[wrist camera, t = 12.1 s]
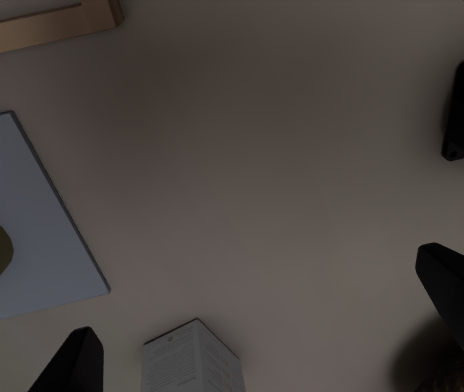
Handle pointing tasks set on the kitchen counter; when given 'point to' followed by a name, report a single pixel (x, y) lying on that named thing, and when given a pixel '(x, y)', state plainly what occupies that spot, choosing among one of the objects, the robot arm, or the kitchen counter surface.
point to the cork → (5, 250)
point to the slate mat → (39, 234)
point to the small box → (190, 363)
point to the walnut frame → (59, 24)
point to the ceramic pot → (446, 377)
